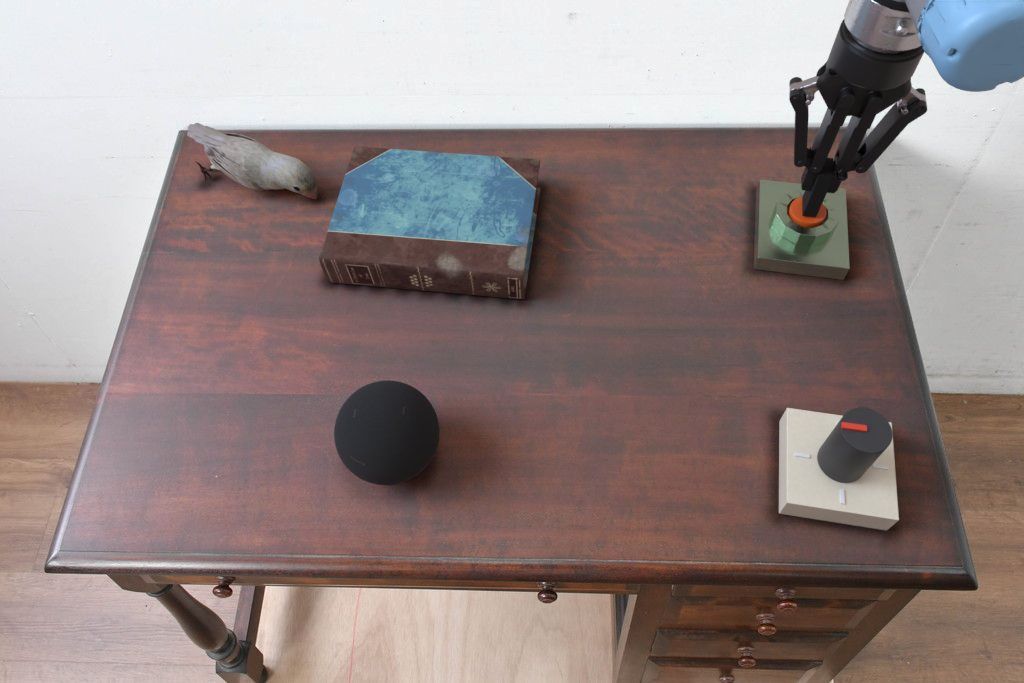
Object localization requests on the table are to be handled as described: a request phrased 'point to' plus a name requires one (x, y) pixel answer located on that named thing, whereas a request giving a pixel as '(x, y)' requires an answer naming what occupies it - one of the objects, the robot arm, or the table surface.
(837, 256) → the button box
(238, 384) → the table surface
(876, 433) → the knob
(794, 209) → the button
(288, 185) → the decorative bird
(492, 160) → the book
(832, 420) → the knob panel
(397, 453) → the speaker
